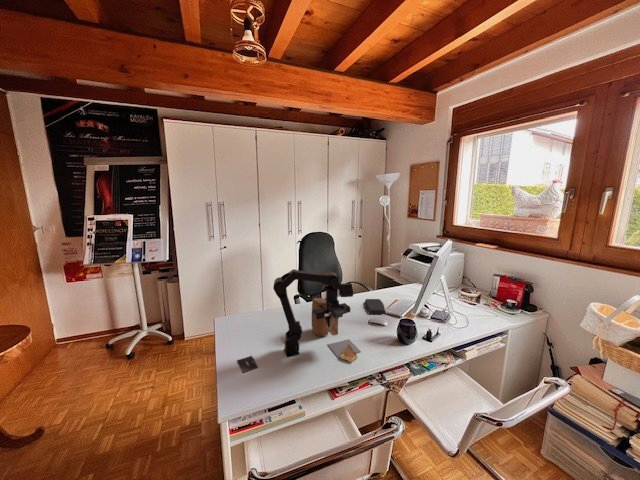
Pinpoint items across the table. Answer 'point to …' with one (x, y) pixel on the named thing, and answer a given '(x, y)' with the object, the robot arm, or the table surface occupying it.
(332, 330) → the slab
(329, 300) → the robot arm
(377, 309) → the external hard drive
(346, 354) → the shard
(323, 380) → the table surface
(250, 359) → the solid state drive
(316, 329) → the brown oblong lump
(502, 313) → the table surface
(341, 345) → the mat
